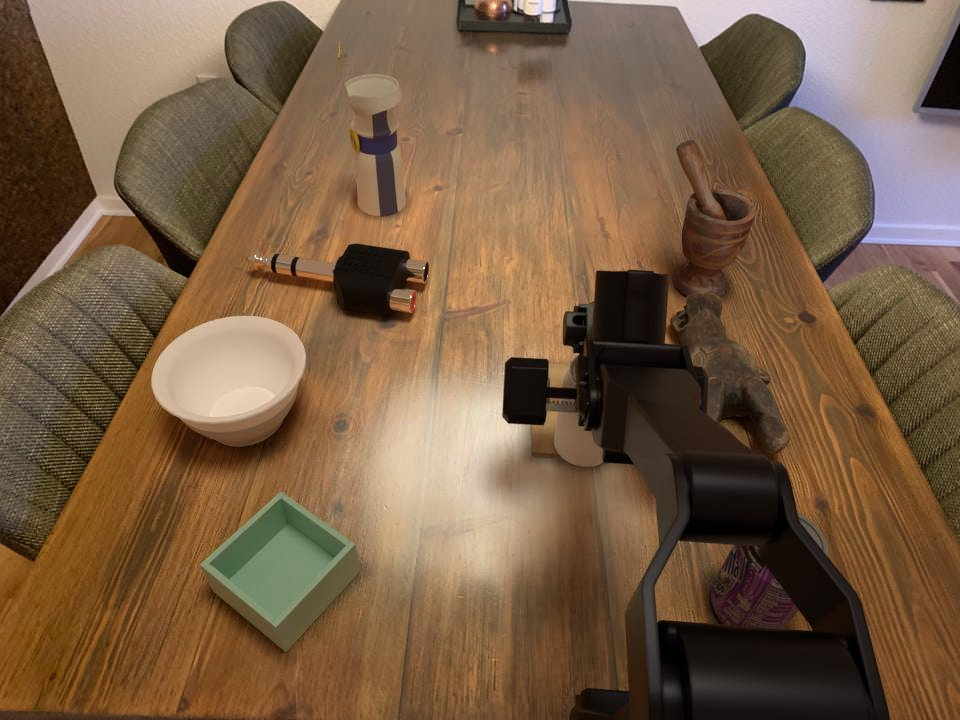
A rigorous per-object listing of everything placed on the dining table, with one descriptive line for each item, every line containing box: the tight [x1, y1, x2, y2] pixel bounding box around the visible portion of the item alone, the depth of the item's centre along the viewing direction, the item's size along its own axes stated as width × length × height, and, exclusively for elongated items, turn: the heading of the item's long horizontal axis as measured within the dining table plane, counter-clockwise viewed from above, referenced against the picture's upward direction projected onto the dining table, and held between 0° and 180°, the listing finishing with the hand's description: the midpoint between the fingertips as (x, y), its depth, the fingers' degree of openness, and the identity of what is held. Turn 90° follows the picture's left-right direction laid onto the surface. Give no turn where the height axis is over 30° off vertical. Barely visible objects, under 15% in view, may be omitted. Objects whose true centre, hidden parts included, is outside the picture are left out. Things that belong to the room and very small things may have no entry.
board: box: [530, 362, 571, 459], centre depth 83 cm, size 14×12×1 cm
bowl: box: [150, 315, 307, 448], centre depth 78 cm, size 16×16×9 cm
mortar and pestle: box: [672, 139, 757, 299], centre depth 94 cm, size 12×9×20 cm
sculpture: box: [669, 292, 791, 455], centre depth 84 cm, size 10×26×7 cm, turn 1°
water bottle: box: [337, 41, 407, 217], centre depth 104 cm, size 8×9×25 cm
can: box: [554, 354, 604, 468], centre depth 75 cm, size 6×6×12 cm
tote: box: [199, 491, 361, 653], centre depth 66 cm, size 10×10×5 cm
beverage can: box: [710, 512, 830, 629], centre depth 63 cm, size 7×7×12 cm
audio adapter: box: [244, 243, 430, 317], centre depth 96 cm, size 11×5×25 cm
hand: (590, 390), depth 75 cm, fingers open, 9 cm apart
